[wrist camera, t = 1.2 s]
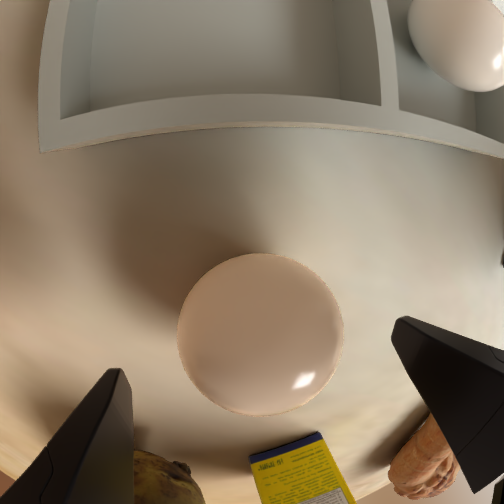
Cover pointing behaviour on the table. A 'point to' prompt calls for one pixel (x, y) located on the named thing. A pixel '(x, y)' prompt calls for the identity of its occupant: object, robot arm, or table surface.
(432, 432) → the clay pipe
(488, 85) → the egg
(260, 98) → the crate
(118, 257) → the table surface
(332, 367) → the brown egg
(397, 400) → the table surface
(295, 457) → the supplement box
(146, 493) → the potato
